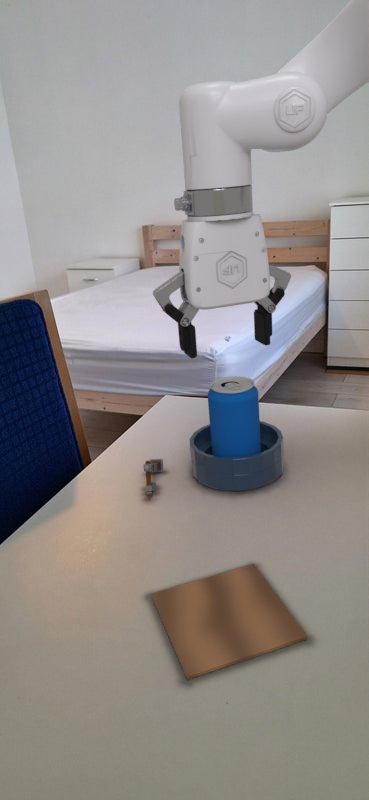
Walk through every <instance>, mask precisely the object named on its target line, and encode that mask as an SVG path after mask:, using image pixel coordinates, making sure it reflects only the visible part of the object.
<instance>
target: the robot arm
mask: <svg viewBox="0 0 369 800" xmlns="http://www.w3.org/2000/svg"><path fill="white" fill-rule="evenodd" d="M367 83H369V0H349V1H348V2H347V3H346V4H345V5H344V7H343V8H342V9H341V10H340V11H339V12H338V13H337V15H336V16H335V17H333V19H332V20H331V21H330V22H329V23H328V24H327V25H326V26H325V27H324V28H323V29H322V30H321V31H320V32H319V33H318V34H317V35H316V36H315V37H313V39H312V40H310V41H309V42H308V43H307V44H306V45H305V46H304V47H303V48H302V49H301V50H300V51H299V52H297V53H296V55H294V56H293V57H292V58H291V59H290V60H289V61H288V62H287V63H286V64H285V65H283V66H282V67H281V68H280V69H279V70H278V71H276V73H275V74H270V75H266V76H263V77H262V76H261V77H258V78H257V77H256V78H252V79H247V80H243V81H242V80H241V81H235V80H212V81H204V82H200V83H195V84H191V85H189V86H187V87H185V88H184V89H183V90H182V91H181V94H180V97H179V101H178V102H179V103H178V104H179V105H178V106H179V121H180V134H181V146H182V148H181V149H182V161H183V162H182V163H183V177H184V189H185V190H184V191H183V196H180V197H175V198H174V200H173V205H174V210H175V211H176V212H177V211H181V212H184V214H185V216H186V218H187V219H183V220H182V221H181V227H180V229H181V230H180V238H179V240H180V241H179V255H178V259H179V261H178V272H177V273H176V274H175V275H173V276H172V277H170V278H169V279H167V280H166V281H165V282H163V283H161V284H160V285H159V286H158V287H156V288H155V289H154V290H153V291H152V296H153V297H154V299H155V301H156V302H157V304H158V305H159V306H160V308H161V310H162V312H163V313H165V314H166V315H167V316H168V317H170V318H171V319H172V320H174V321H175V322H176V323H177V329H178V340H179V347H180V350H181V351H182V352H184V354H185V355H186V356H187V357H189V359H196V358H197V357H198V349H197V346H198V345H197V335H196V334H197V333H196V326H195V325H193V324H192V321H193V320H194V318H195V317H196V315H197V314H198V312H199V311H200V310H213V309H221V308H227V307H235V306H240V305H241V306H242V305H247V304H252V303H253V304H254V305H256V307H257V308H256V309H254V311H253V323H254V324H253V325H254V326H253V327H254V328H253V330H254V340H255V341H256V342H257V343H260V344H261V345H264V346H270V345H271V337H272V335H273V313H275V312H276V309H277V306H278V304H279V303H280V302H281V300H282V299H283V298H284V297H285V294H286V293H285V291H286V290H287V288H288V285H289V283H290V281H291V279H292V274H291V273H290V272H288V271H286V270H284V269H282V268H279V267H277V266H275V265H273V264H270V263H269V256H268V255H269V254H268V245H267V241H266V234H265V230H264V225H263V220H262V217H261V213H254V206H253V205H254V203H253V185H252V184H253V180H252V179H253V178H252V177H253V176H252V173H253V172H252V150H263V151H265V152H269V153H281V152H282V153H283V152H291V151H292V152H293V151H295V150H299V149H302V148H303V147H305V146H307V145H309V144H310V143H312V142H313V141H314V140H315V139H316V138H317V137H318V136H319V134H320V133H321V132H322V130H323V128H324V126H325V124H326V120H327V118H328V114H329V113H330V112H331V111H333V110H334V109H335V108H336V107H338V105H340V104H341V103H342V102H344V101H345V100H346V99H348V98H349V97H350V96H351V95H353V94H354V93H355V92H356V91H358V90H359V89H361V88H362V87H363V86H365V85H366V84H367ZM271 278H273V279H274V282H273V286H272V287H271ZM178 289H179V291H180V298H181V299H182V302H181V304H180V305H179V307H178V308H177V307H176V306H175V305H174V304H173V302H172V301H171V298H170V296H171V295H172V294H173V293H175V292H176V291H178Z"/></svg>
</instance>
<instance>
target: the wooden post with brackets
mask: <svg viewBox="0 0 369 800" xmlns="http://www.w3.org/2000/svg"><path fill="white" fill-rule="evenodd" d="M142 464H143V472H144V473H145V482H146V484H145V492H146V498H151V497H153V492H155V491H156V490H157V482H156V481H152V473H163V472H164V459H163V458H150V459H149V460H146V461H145V463H142Z"/></svg>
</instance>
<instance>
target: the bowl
mask: <svg viewBox="0 0 369 800" xmlns="http://www.w3.org/2000/svg"><path fill="white" fill-rule="evenodd" d="M260 439H261V453H259V454H255V455H251V456H246V457H234V458H231V457H218V456H213V455H212V443H211V431H210V423H209V424H207V425H204V426H202V427H200V428H198V429H197V430H196V431H194V432H193V433H192V435H191V436H190V437H189V452H190V464H191V472H192V476H193V478H195V480H196V481H197V482H199V483H201V484H202V485H204V486H206V487H209V488H212V489H215V490H219V491H232V492H237V491H238V492H239V491H248V490H253V489H254V490H255V489H257V488H261V487H265V486H266V485H269V484H271V483H272V482H275V481H276V480H277V479H278V478H279V477H280V476H281V475H282V474H283V472H284V468H285V454H284V451H285V450H284V435H283V433H282V431H281V430H280V429H279V428H278V427H277V426H275V425H273V424H272V423H271V424H270V423H268V422H266V421H263V420H262V421H261V420H260Z"/></svg>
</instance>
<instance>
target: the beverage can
mask: <svg viewBox="0 0 369 800" xmlns="http://www.w3.org/2000/svg"><path fill="white" fill-rule="evenodd" d="M209 386H210V388H209V390H208V392H207V406H208V417H209V424H210V431H211V443H212V455H213V456H218V457H231V458H234V457H246V456H251V455H255V454H259V453H261V439H260V421H261V419H260V402H259V390H258V388H257V387H256V386H255V381H254V380H253V379H252V378H249V377H246V376H239V375H238V376H237V375H232V376H225V377H220V378H217V379H215V380H213V381H211V383H210V385H209Z"/></svg>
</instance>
